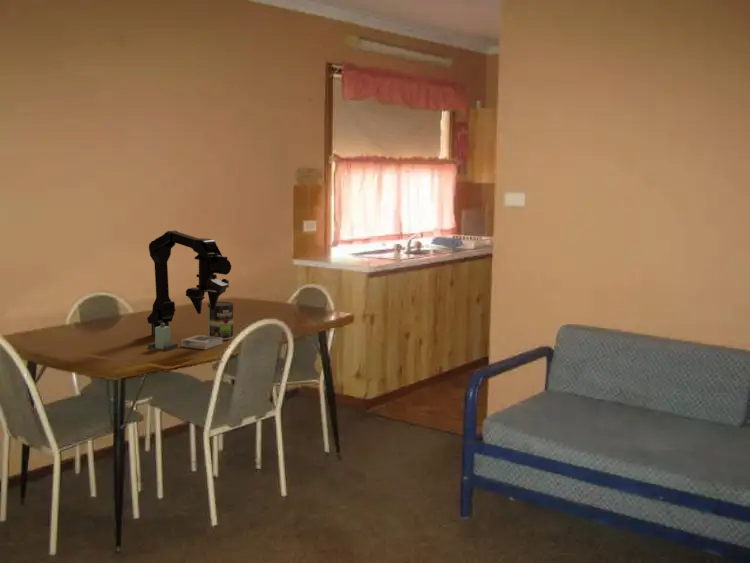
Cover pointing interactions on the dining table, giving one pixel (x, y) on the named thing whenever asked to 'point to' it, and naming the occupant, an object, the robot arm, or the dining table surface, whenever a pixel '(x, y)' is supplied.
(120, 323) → the dining table surface
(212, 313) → the coffee can
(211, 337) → the port
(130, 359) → the dining table surface
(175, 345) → the dark grey bracket
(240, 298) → the dining table surface
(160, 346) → the plug
